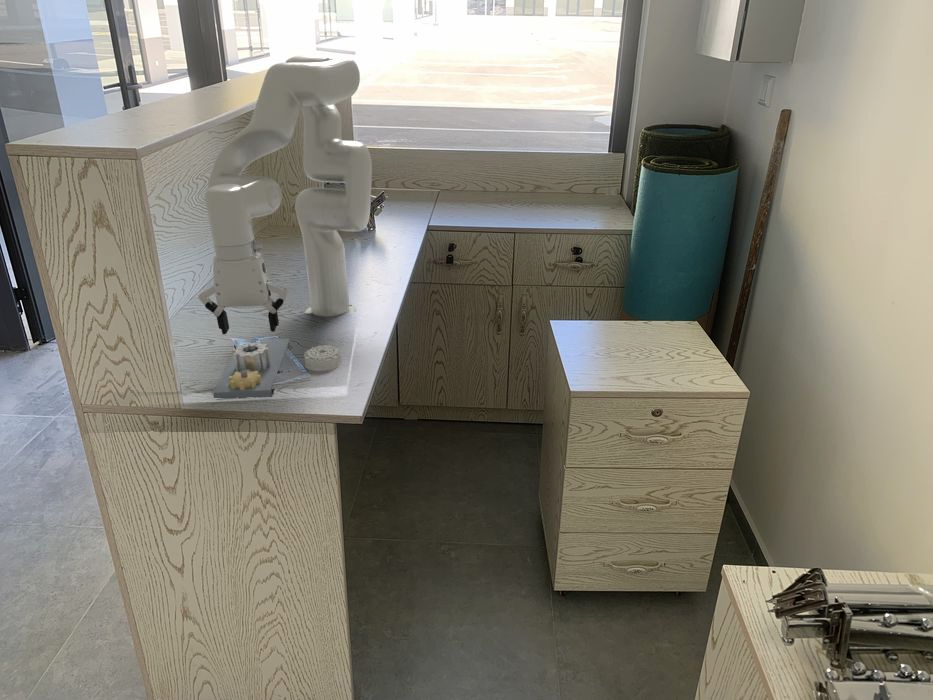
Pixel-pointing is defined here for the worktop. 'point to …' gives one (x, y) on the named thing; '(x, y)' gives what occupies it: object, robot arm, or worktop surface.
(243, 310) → the worktop surface
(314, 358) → the mechanical component
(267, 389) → the gear board
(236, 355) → the steel gear
